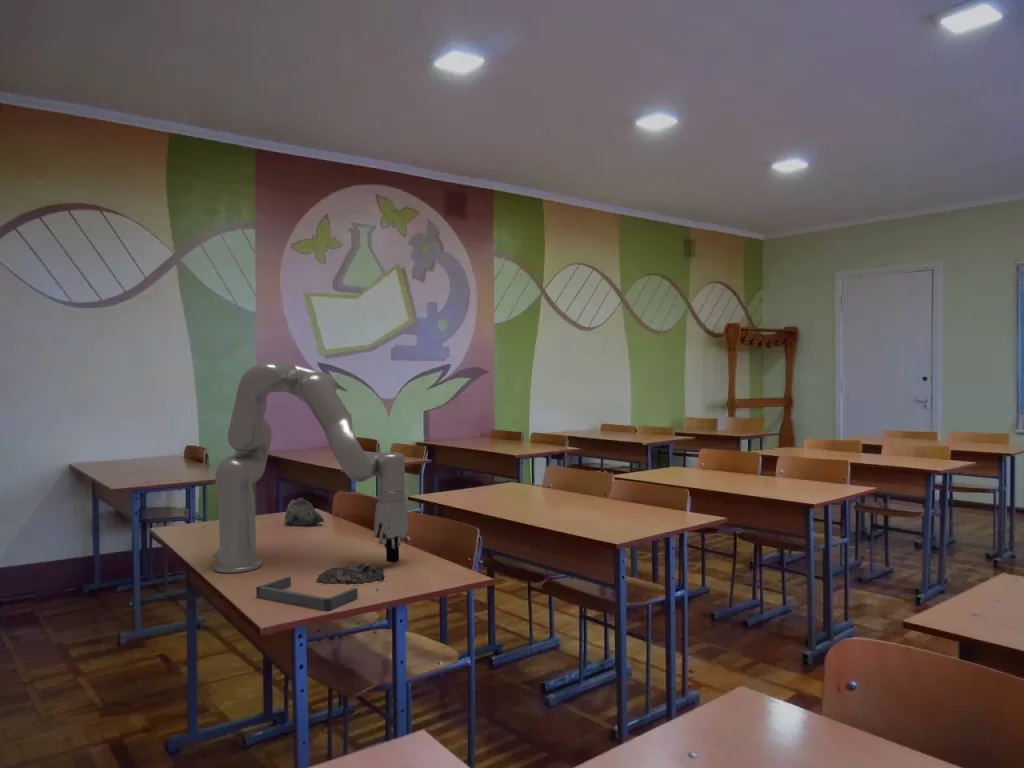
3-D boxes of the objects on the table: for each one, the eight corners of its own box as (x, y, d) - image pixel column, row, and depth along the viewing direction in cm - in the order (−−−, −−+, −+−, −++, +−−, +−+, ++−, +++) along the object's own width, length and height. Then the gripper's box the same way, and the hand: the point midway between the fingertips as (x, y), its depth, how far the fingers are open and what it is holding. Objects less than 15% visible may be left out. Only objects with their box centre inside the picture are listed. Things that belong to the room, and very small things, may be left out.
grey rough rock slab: (399, 580, 191) (375, 568, 203) (399, 565, 191) (374, 554, 203) (331, 594, 180) (309, 581, 192) (330, 579, 180) (308, 566, 192)
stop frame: (256, 597, 176) (256, 587, 176) (288, 586, 185) (287, 576, 185) (327, 611, 165) (327, 600, 165) (357, 598, 174) (357, 588, 174)
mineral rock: (325, 526, 259) (325, 498, 259) (297, 530, 252) (296, 501, 252) (309, 520, 268) (309, 493, 268) (281, 525, 261) (281, 497, 261)
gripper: (397, 491, 212) (398, 554, 213) (363, 499, 199) (365, 566, 199) (418, 493, 209) (419, 556, 209) (385, 501, 196) (386, 569, 196)
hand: (392, 561), depth 204 cm, fingers closed
